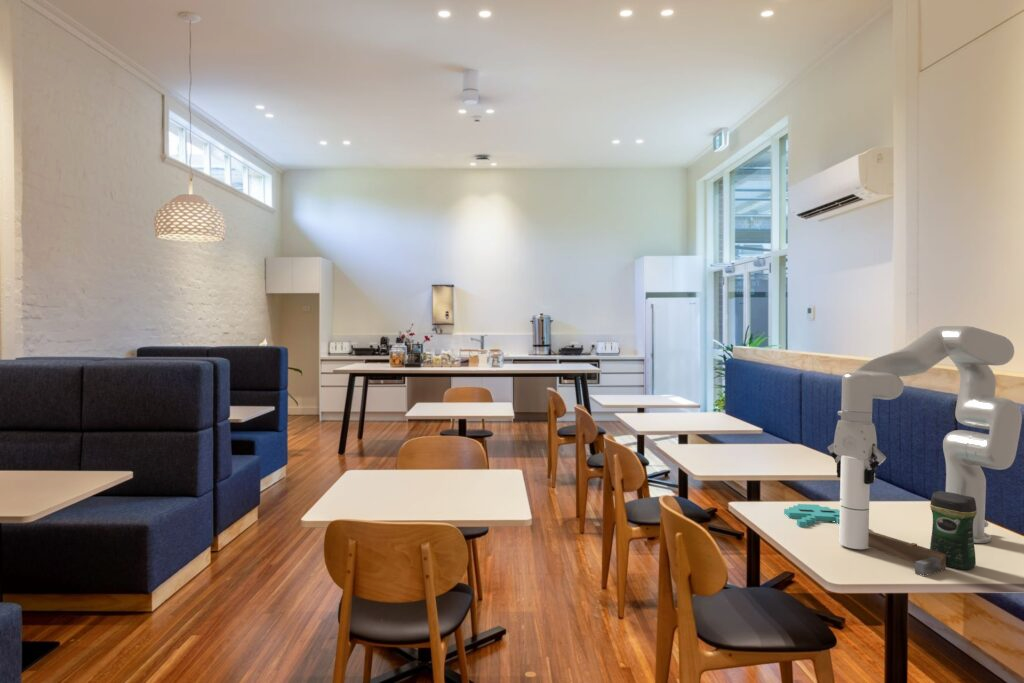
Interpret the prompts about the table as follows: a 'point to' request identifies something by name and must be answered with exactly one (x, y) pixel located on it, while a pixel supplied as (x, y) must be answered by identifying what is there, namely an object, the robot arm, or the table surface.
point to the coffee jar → (954, 528)
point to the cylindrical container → (853, 504)
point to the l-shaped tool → (909, 553)
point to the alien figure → (812, 514)
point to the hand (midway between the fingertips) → (854, 479)
